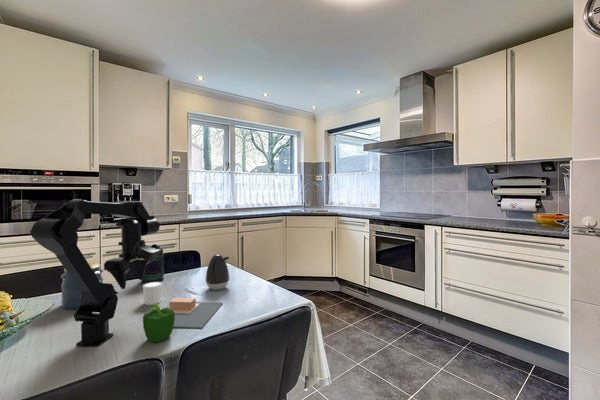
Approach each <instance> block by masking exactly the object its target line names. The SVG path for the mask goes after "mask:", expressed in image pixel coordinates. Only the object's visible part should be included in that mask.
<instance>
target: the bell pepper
mask: <svg viewBox="0 0 600 400" xmlns="http://www.w3.org/2000/svg"><path fill="white" fill-rule="evenodd" d="M150 307H151V308H152V309H151V310H150V311H148V312H145V313H144V314H143V317H142V324H143V325H142V326H143V331H144V334H145V337H146V338H147V339H148V340H149V341H150V342H151V343H161V342H164V341H165V340H166V339H167V338H168V337H170V336H171V335H172V333H173V331H174V330H173V329H174V328H173V326H174V321H175V313H174V311H173V310H170V309H169V307H164V308H162V309H161V307H160V306H159V305H158V303H157V304H151V305H150Z"/></svg>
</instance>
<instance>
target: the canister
mask: <svg viewBox="0 0 600 400" xmlns="http://www.w3.org/2000/svg"><path fill="white" fill-rule="evenodd" d="M87 262H88V264H89V265H90V267H91V268H92V270H93V272H94V273H95V275H96V276H97V278H98V279H99V281H100V283H104V277H103V276H102V273H103V272H104V269H102V268H101V263H98V262H96V261H92V260H90V261H87ZM63 271H64V273H62V274H61V275H60V278H61V279H62V283H61V285H60V286H61V306H62V308H63V309H64V310H78V308H79V307H80V305H81V301H80V296H81V291H80V290H79V288H78V287H77V285H76V284H75V282H74V281H73V279H72V278H71V277H70V275H69V274H68V272H67V271H66V269H65V268H63Z"/></svg>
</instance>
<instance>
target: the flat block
mask: <svg viewBox="0 0 600 400" xmlns="http://www.w3.org/2000/svg"><path fill="white" fill-rule="evenodd" d="M196 302H197V298H196V297H174V298H173V299H171V300H170V301H169V302H168V303H169V305H168V306H169V307H168V308H169V309H170V310H189V311H191V310H192V309H193V308H194V307H195V306H196Z"/></svg>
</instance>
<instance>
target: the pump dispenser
mask: <svg viewBox="0 0 600 400" xmlns="http://www.w3.org/2000/svg"><path fill="white" fill-rule="evenodd" d="M229 257H230V256H225V257H224V256H223V255H222V254H214V255H213V256H212V257H211V258H210V260H209V263H208V265H207V269H206V272H205V273H206V274H205V282H206V283H205V284H206V286H207V287H208V289H210V290H213V291H220V290H223V289H225V288H226V287H227V286H228V284H229V281H230V272H229V271H230V270H229V267H228V265H227V262H226V261H228V260H229V259H230V258H229Z"/></svg>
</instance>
